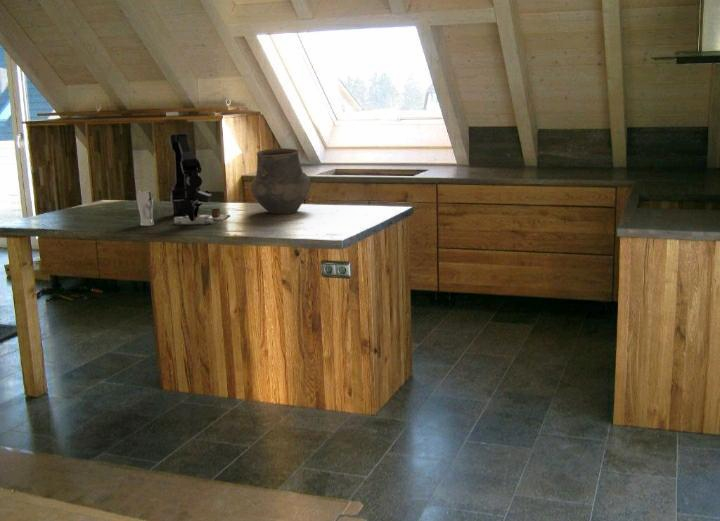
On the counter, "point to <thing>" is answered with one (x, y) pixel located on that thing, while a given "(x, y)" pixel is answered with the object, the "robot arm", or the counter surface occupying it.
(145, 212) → the beer glass
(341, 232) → the counter surface
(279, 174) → the ceramic pot
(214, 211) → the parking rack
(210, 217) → the grey rod with balls
